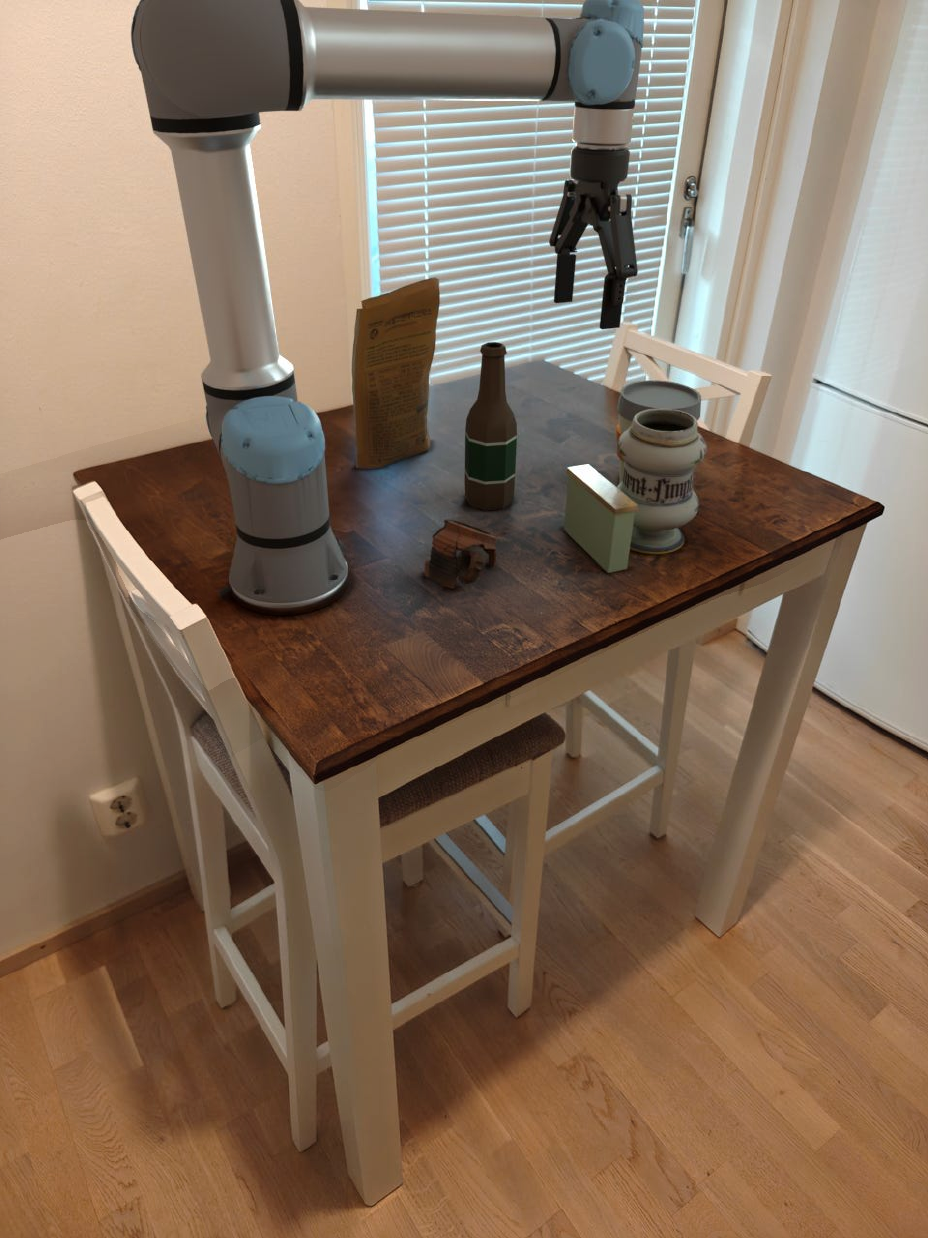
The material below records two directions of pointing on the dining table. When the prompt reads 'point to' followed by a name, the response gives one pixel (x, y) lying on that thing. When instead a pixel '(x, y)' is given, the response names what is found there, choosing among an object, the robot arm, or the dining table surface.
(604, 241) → the robot arm
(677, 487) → the apothecary jar
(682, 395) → the grey lidded canister
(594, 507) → the back wall
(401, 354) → the pancake mix bag
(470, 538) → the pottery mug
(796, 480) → the dining table surface
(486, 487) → the beer bottle
